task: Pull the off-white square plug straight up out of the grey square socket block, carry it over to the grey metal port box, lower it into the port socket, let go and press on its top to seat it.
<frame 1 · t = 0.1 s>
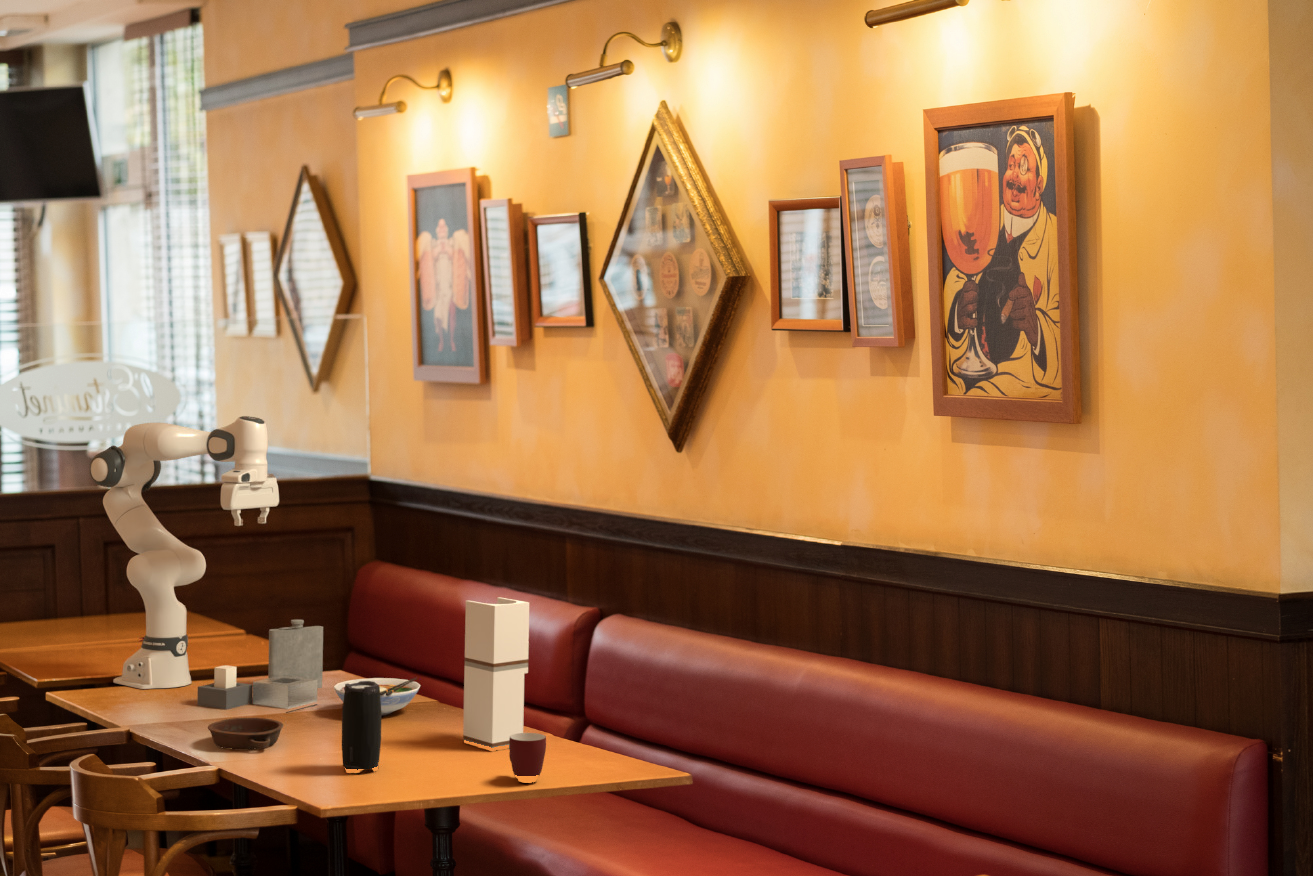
hand: (250, 524, 414), 48 cm above the table, fingers open, 8 cm apart
port box: (285, 706, 402), on the table
mug: (523, 781, 329), on the table
hip flask: (296, 690, 425), on the table
grey square socket block: (224, 708, 398), on the table
portable speaker: (360, 771, 335), on the table
plug: (225, 704, 398), point 1 cm above the table, touching grey square socket block
banded cream pillar: (494, 745, 363), on the table
ramen bowl: (376, 714, 396), on the table
dish: (245, 746, 358), on the table
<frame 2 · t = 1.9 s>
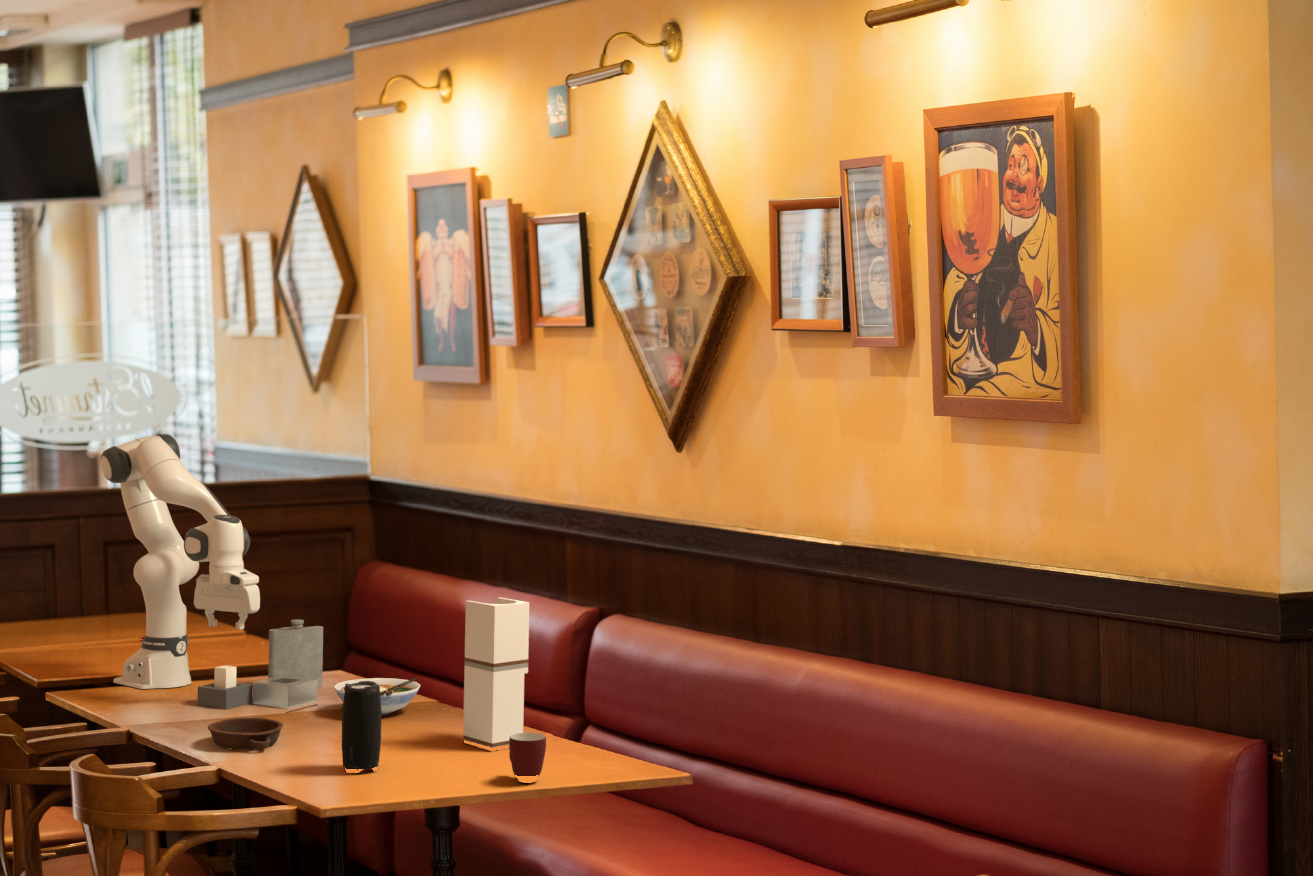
hand: (226, 627, 398), 22 cm above the table, fingers open, 8 cm apart
nothing on the table moved.
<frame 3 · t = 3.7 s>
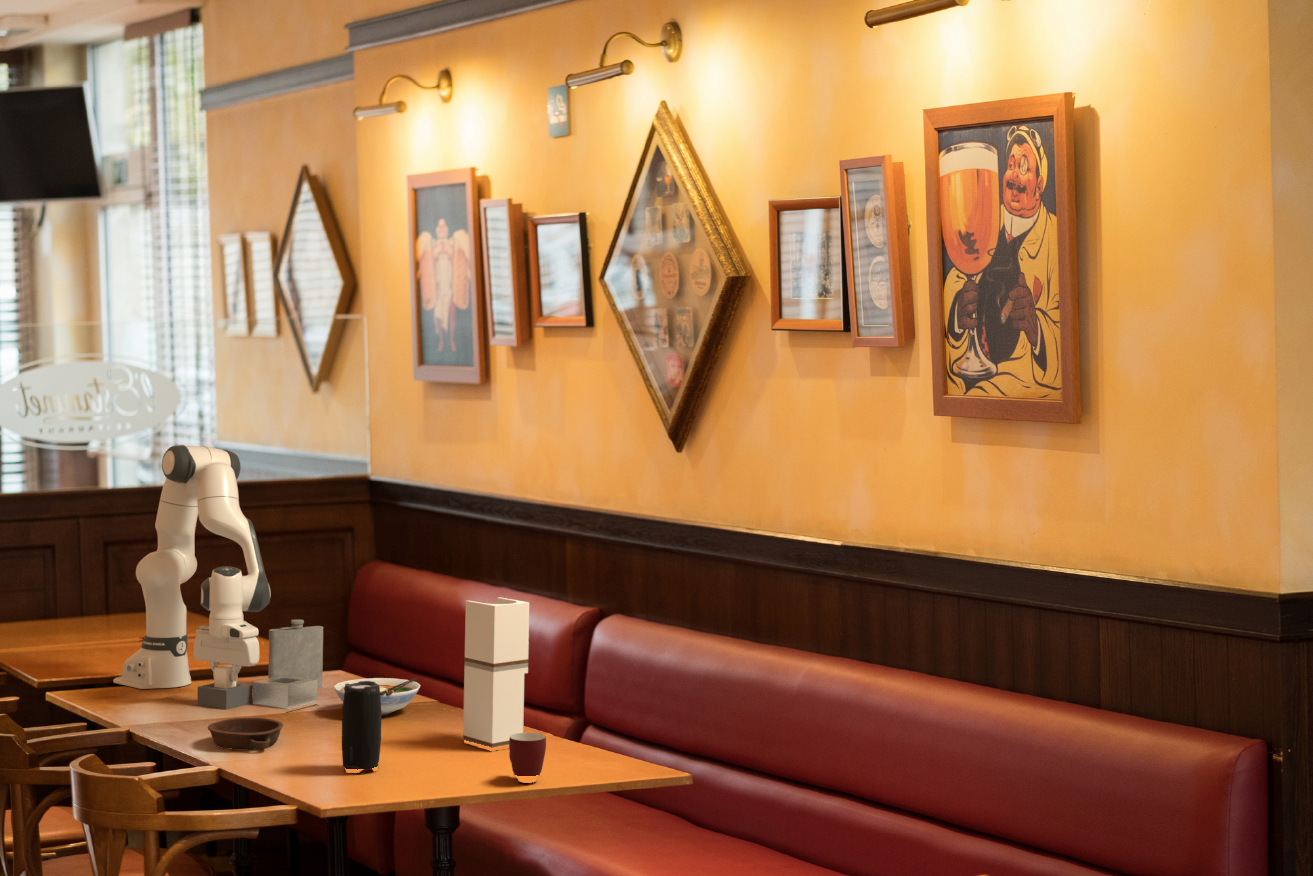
hand: (225, 679, 398), 8 cm above the table, fingers closed on plug, 4 cm apart
plug: (225, 704, 398), point 1 cm above the table, touching gripper, grey square socket block
everything else where it was.
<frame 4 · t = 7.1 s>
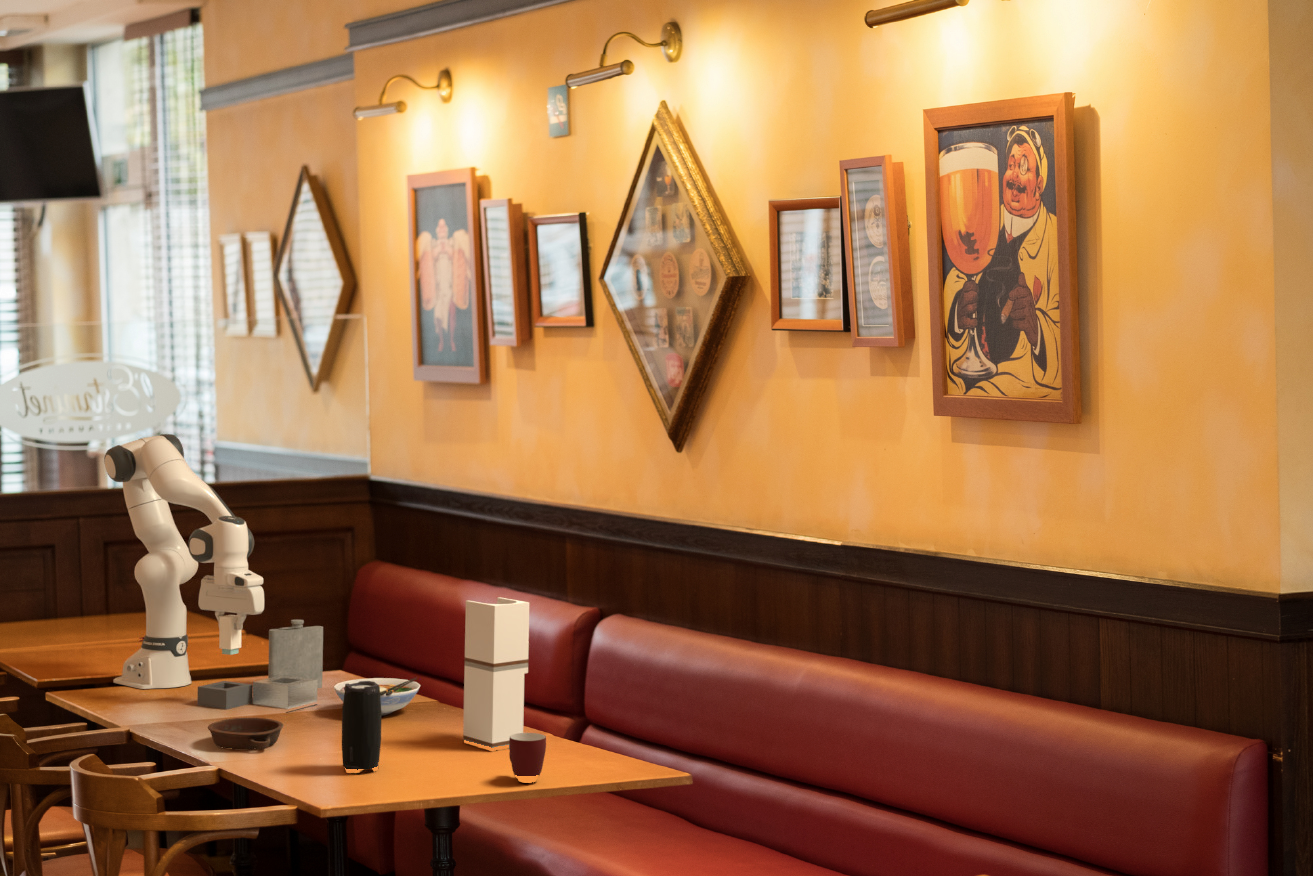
hand: (230, 628, 398), 21 cm above the table, fingers closed on plug, 4 cm apart
plug: (230, 653, 398), point 15 cm above the table, touching gripper
everything else where it was.
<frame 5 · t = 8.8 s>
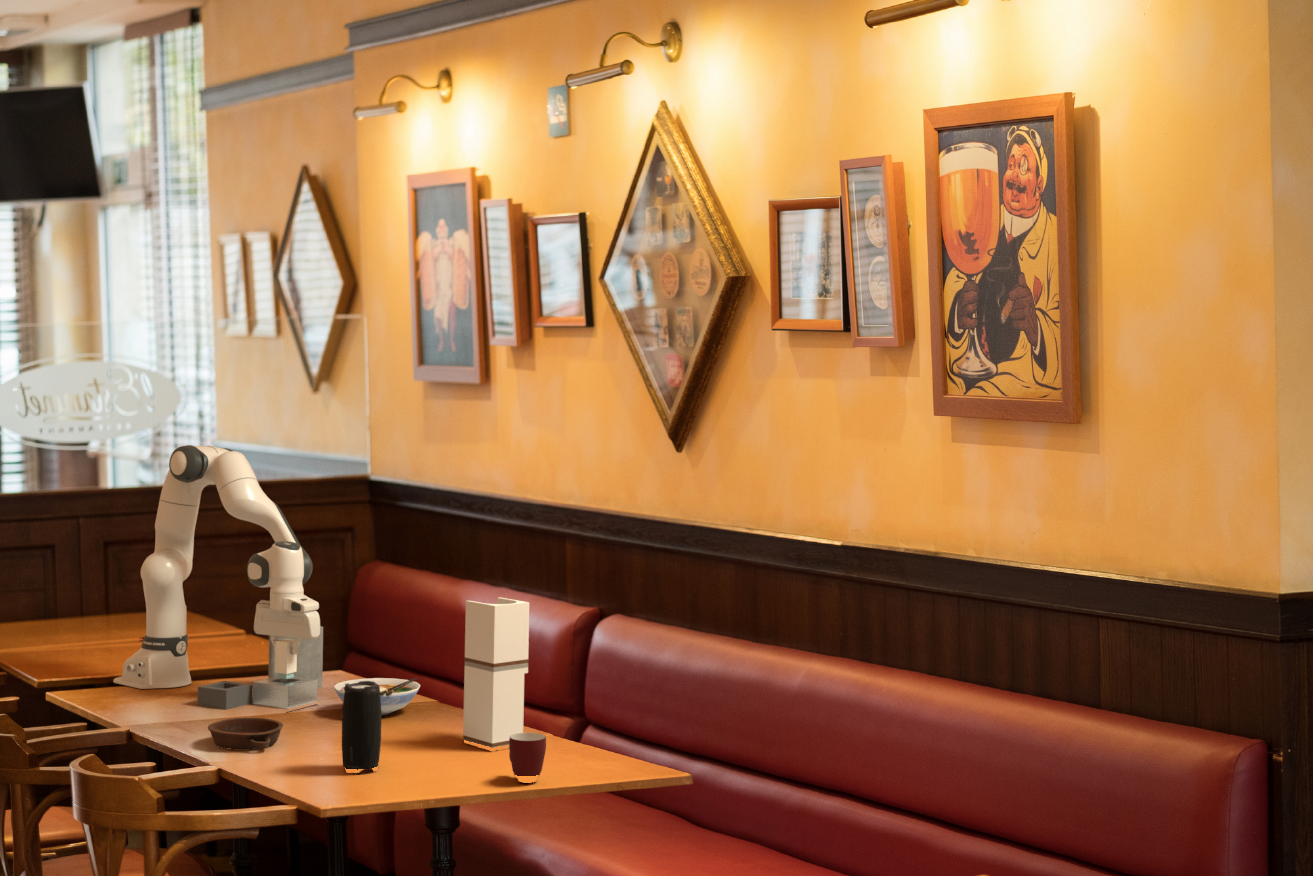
hand: (286, 653, 402), 14 cm above the table, fingers closed on plug, 4 cm apart
plug: (285, 677, 402), point 8 cm above the table, touching gripper
everything else where it was.
when the fingers open (9 cm above the table, at t = 10.3 s): plug stays where it is, resting on port box.
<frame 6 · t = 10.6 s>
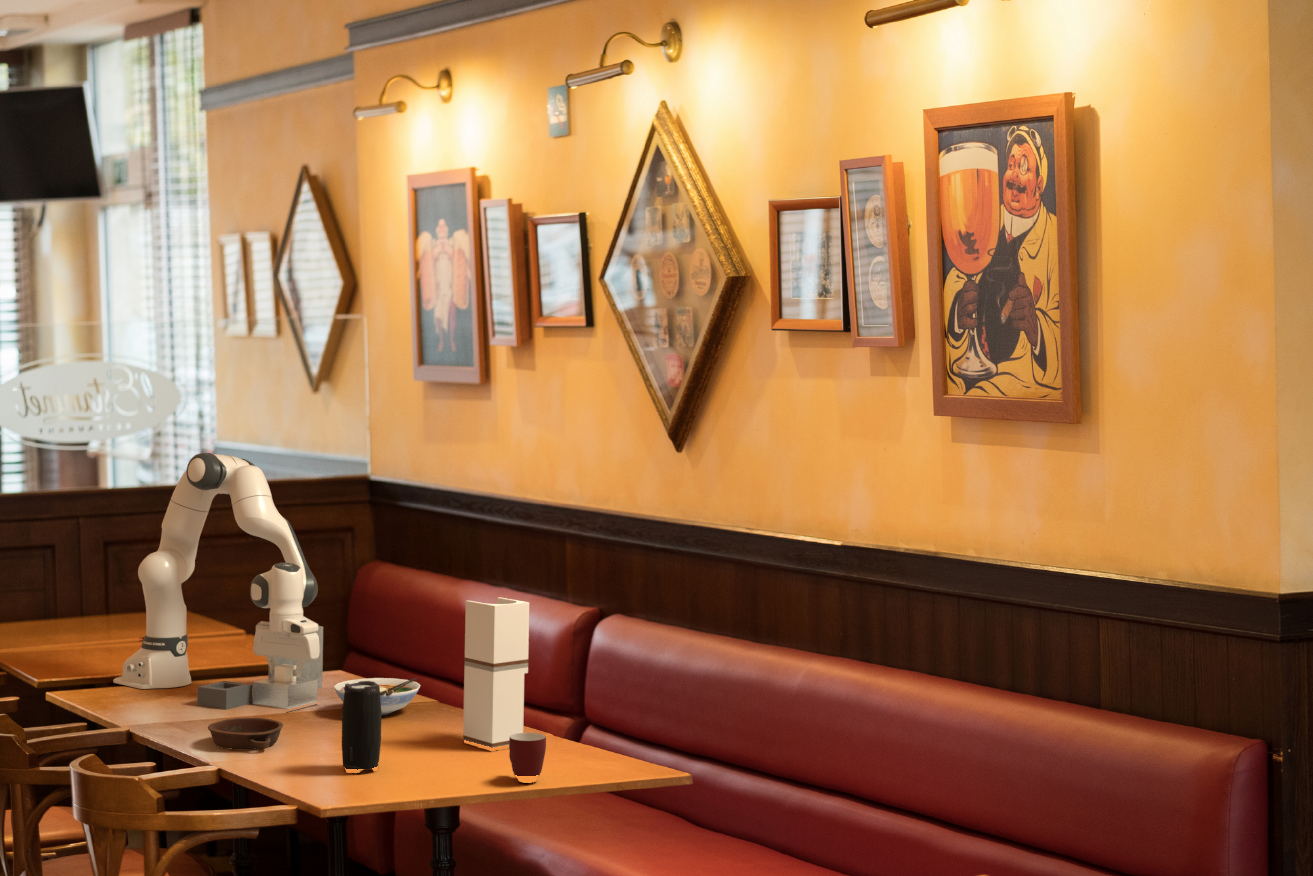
hand: (285, 674, 402), 9 cm above the table, fingers open, 6 cm apart
plug: (284, 702, 402), point 1 cm above the table, touching port box
everything else where it was.
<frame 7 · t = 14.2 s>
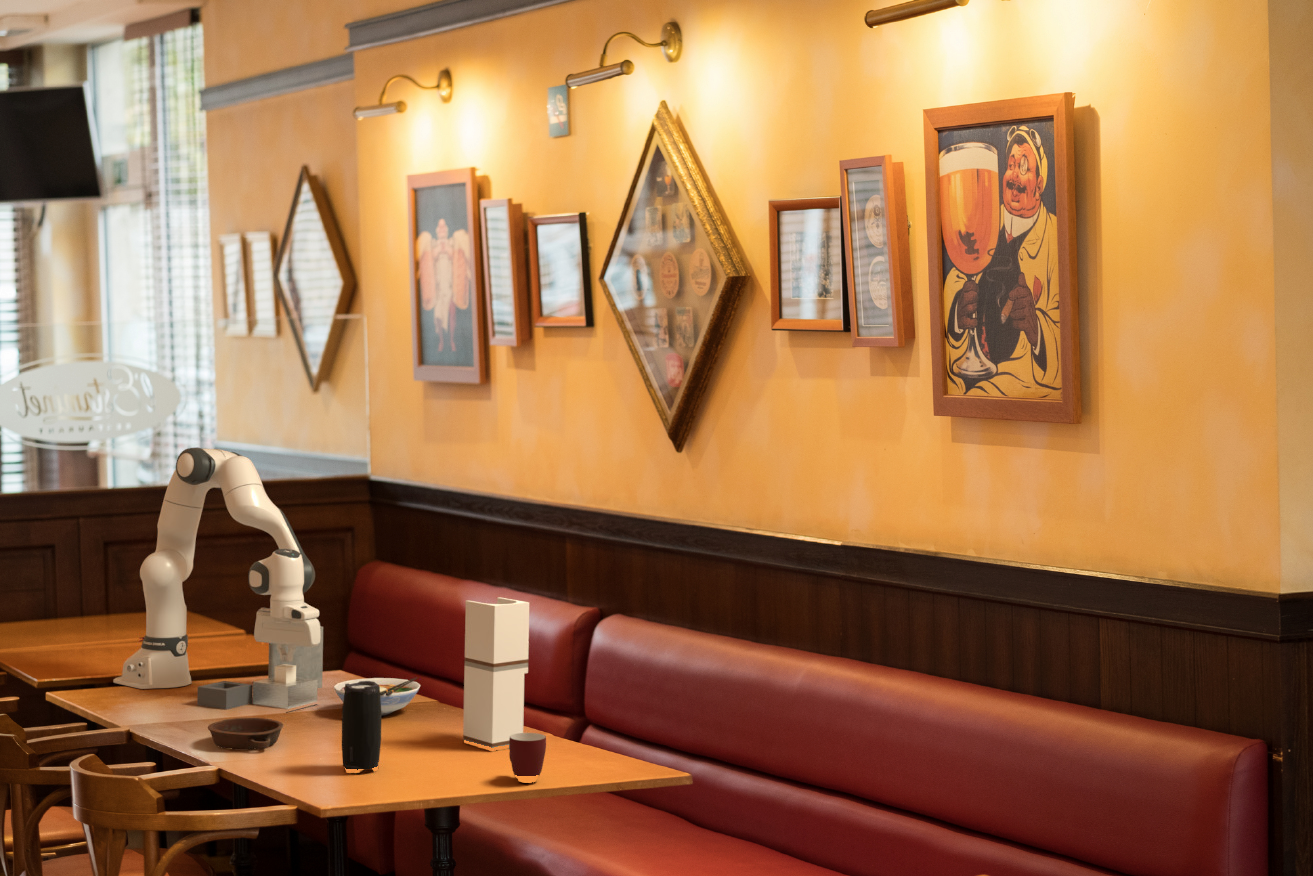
hand: (286, 660, 402), 12 cm above the table, fingers closed
nothing on the table moved.
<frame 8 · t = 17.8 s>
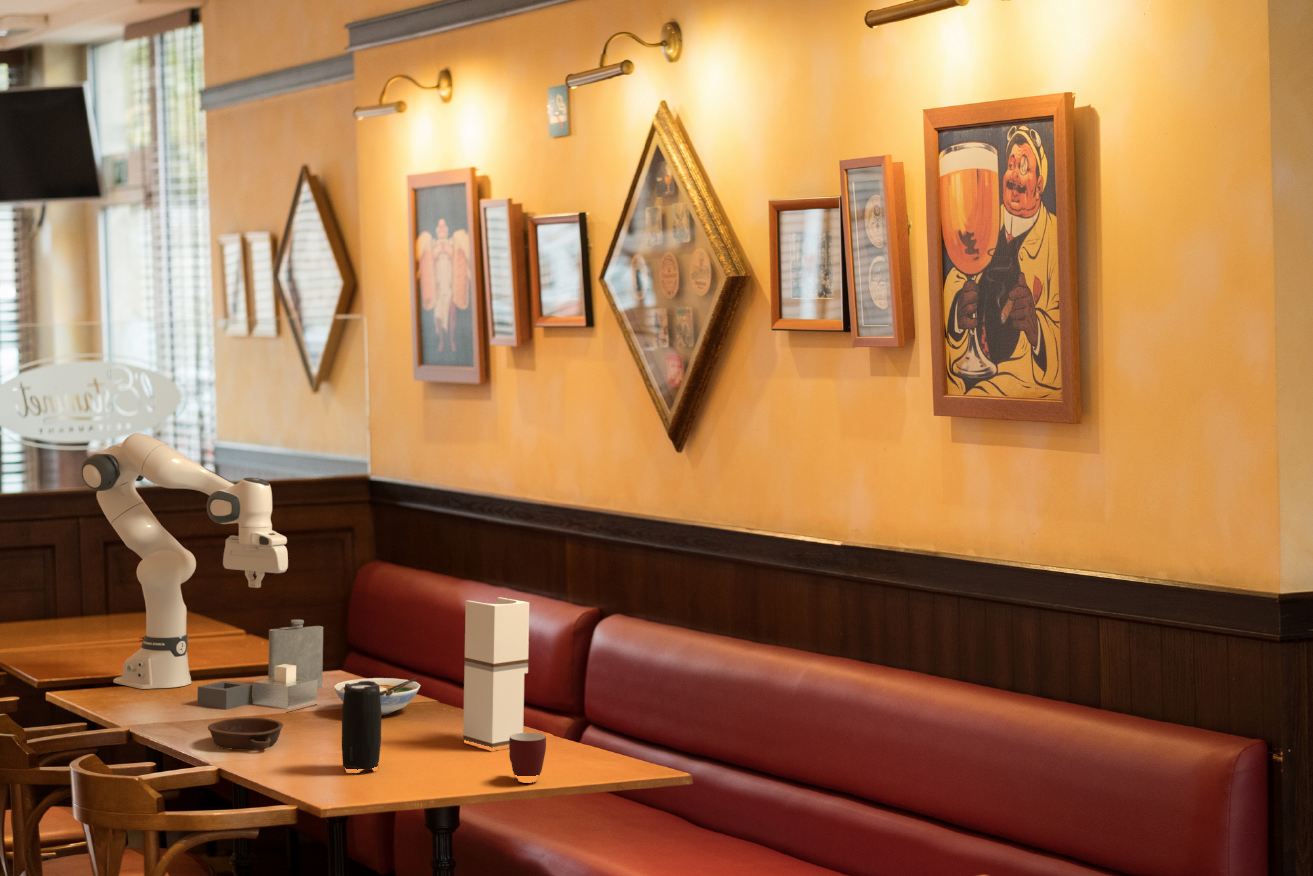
hand: (254, 587, 409), 31 cm above the table, fingers closed
nothing on the table moved.
at the end: plug 0.1 cm off-centre on the port box, point 1.0 cm above the port box's base; plug tilted 0°; the gripper is holding nothing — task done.
